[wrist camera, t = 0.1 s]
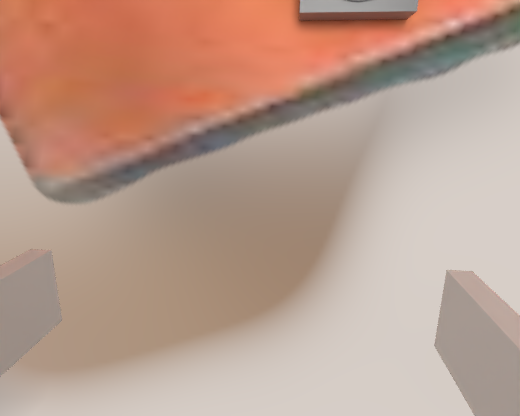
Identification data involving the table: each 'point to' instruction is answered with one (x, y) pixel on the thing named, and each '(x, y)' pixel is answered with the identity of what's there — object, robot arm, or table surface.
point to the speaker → (356, 9)
